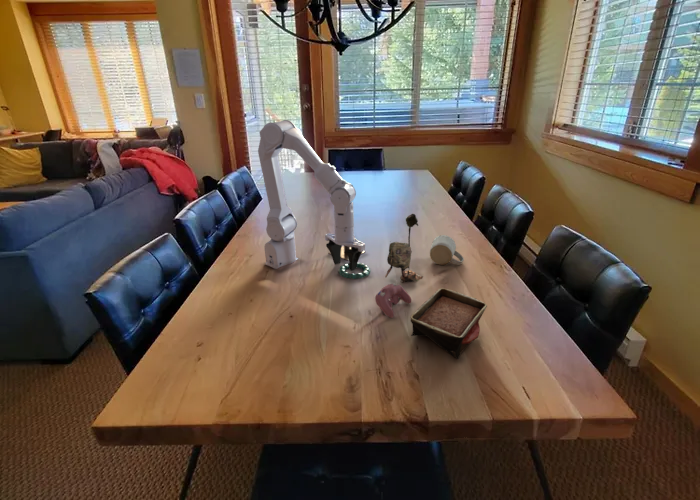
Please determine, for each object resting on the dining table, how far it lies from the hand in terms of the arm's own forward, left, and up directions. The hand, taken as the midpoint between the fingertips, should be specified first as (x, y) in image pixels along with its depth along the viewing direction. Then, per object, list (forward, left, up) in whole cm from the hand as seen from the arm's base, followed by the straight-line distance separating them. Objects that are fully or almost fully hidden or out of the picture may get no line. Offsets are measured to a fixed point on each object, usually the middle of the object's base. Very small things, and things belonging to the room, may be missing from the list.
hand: (345, 266), depth 116 cm
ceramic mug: (+26, -21, -2) cm, 33 cm away
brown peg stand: (+9, +7, -1) cm, 12 cm away
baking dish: (-10, -40, -2) cm, 41 cm away
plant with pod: (+6, -18, -2) cm, 19 cm away
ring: (0, -4, 0) cm, 4 cm away
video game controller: (-8, -24, -2) cm, 25 cm away
